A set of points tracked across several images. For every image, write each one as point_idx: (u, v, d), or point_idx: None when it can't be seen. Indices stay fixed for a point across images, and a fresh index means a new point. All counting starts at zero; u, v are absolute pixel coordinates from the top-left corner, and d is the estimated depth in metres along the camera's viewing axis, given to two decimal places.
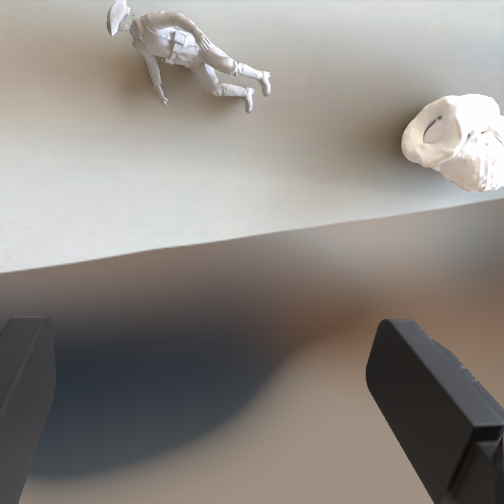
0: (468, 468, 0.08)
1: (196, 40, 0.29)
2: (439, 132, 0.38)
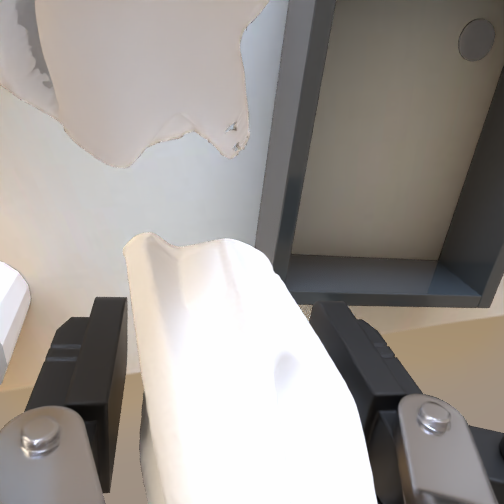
0: (373, 436, 0.08)
1: None
2: None
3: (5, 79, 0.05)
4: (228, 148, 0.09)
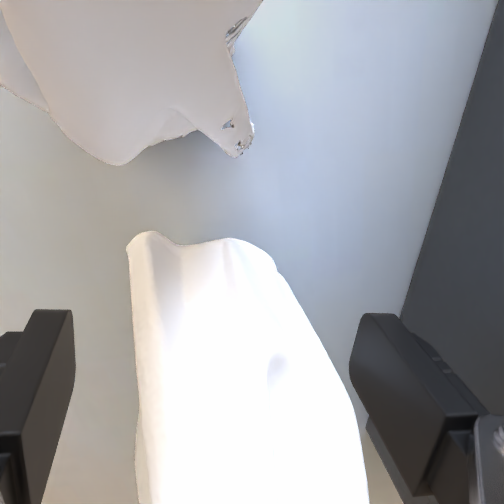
0: (442, 457, 0.08)
1: None
2: None
3: None
4: (229, 146, 0.08)
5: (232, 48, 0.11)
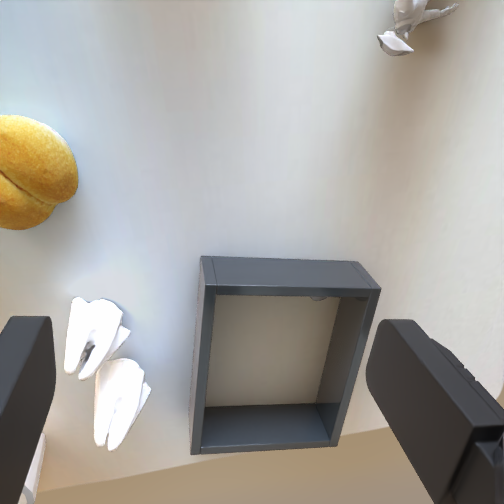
0: (468, 468, 0.08)
1: None
2: None
3: None
4: None
5: (122, 314, 0.41)
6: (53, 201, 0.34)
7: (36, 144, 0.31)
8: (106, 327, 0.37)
